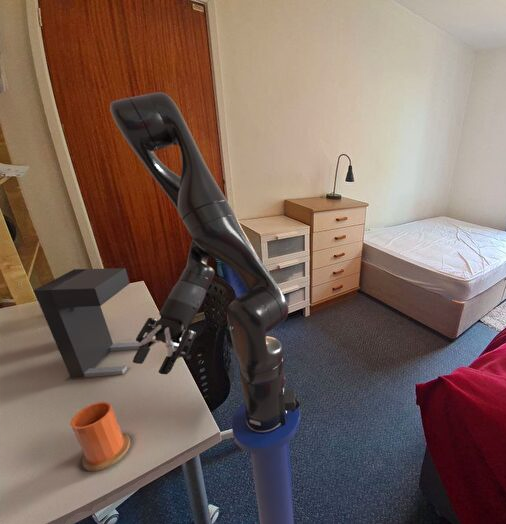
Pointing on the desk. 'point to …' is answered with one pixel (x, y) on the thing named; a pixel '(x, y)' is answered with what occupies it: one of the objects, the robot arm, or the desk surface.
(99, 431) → the cup
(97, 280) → the coffee maker
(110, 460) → the coaster
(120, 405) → the desk surface
